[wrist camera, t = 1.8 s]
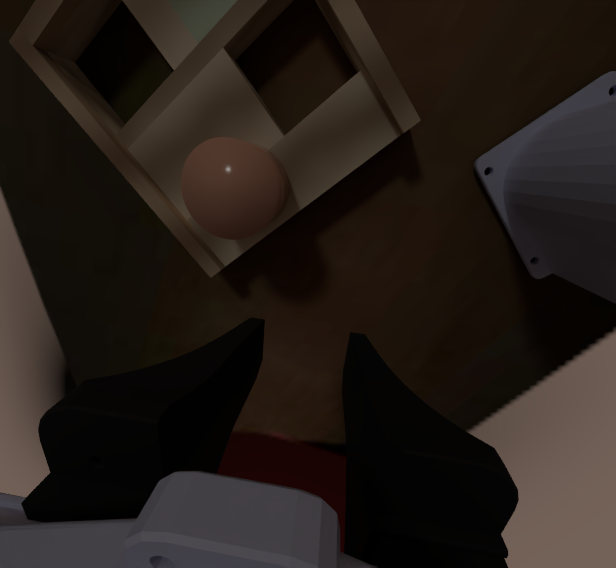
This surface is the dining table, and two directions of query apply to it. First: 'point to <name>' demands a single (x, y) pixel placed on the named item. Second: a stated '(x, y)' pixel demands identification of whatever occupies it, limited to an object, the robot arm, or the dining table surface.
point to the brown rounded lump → (233, 187)
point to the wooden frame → (216, 102)
